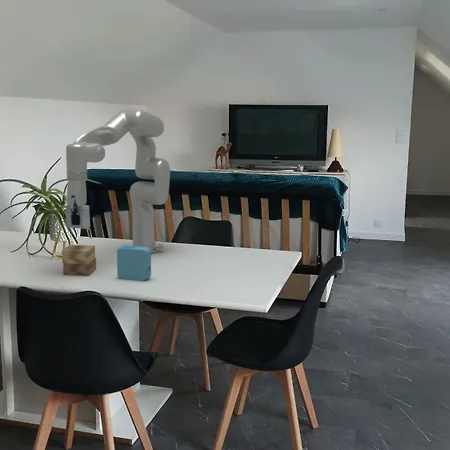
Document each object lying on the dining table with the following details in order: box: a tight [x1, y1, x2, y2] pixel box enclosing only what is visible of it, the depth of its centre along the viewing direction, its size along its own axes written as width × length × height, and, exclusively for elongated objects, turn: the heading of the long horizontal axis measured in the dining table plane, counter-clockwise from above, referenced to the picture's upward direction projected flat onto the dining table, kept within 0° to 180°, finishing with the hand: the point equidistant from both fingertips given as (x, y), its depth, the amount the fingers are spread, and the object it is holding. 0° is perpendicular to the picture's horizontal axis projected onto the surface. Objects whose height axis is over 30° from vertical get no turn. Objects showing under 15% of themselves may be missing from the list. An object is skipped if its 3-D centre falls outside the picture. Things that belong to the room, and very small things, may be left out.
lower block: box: [62, 257, 97, 277], centre depth 232 cm, size 10×10×5 cm
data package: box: [116, 245, 152, 281], centre depth 224 cm, size 12×4×12 cm, turn 75°
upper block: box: [61, 244, 96, 264], centre depth 231 cm, size 10×10×5 cm
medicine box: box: [65, 204, 91, 230], centre depth 228 cm, size 8×4×9 cm, turn 72°
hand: (78, 223), depth 229 cm, fingers closed on medicine box, 5 cm apart
